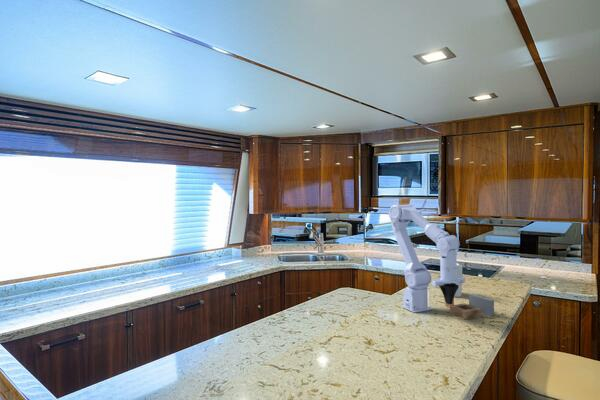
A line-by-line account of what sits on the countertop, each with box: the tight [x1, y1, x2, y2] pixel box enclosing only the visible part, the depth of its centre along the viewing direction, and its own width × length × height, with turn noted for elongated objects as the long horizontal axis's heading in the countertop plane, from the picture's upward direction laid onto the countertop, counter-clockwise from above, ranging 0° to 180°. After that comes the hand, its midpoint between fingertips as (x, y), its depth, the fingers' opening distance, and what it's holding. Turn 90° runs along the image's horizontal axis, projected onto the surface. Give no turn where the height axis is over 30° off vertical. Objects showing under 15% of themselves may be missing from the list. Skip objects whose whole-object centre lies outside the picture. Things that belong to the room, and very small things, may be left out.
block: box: [449, 302, 483, 320], centre depth 140 cm, size 8×8×3 cm
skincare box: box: [454, 262, 463, 298], centre depth 168 cm, size 8×6×15 cm
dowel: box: [445, 298, 455, 308], centre depth 151 cm, size 3×3×8 cm
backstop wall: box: [468, 293, 495, 317], centre depth 143 cm, size 2×10×6 cm, turn 22°
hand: (448, 303), depth 136 cm, fingers closed
